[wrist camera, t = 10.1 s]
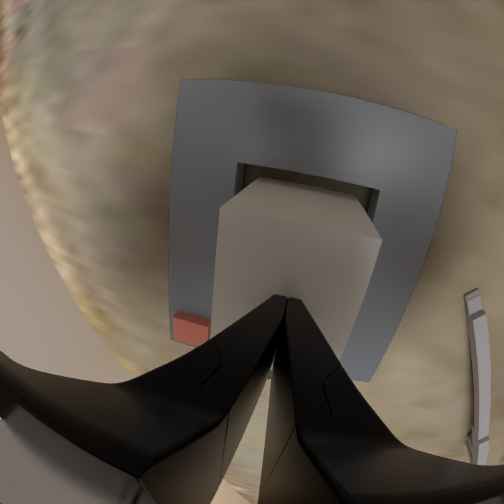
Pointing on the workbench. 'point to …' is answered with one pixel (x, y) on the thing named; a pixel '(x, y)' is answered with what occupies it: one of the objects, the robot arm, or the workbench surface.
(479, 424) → the caliper
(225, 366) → the robot arm
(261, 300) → the plug
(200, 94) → the socket
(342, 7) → the workbench surface
